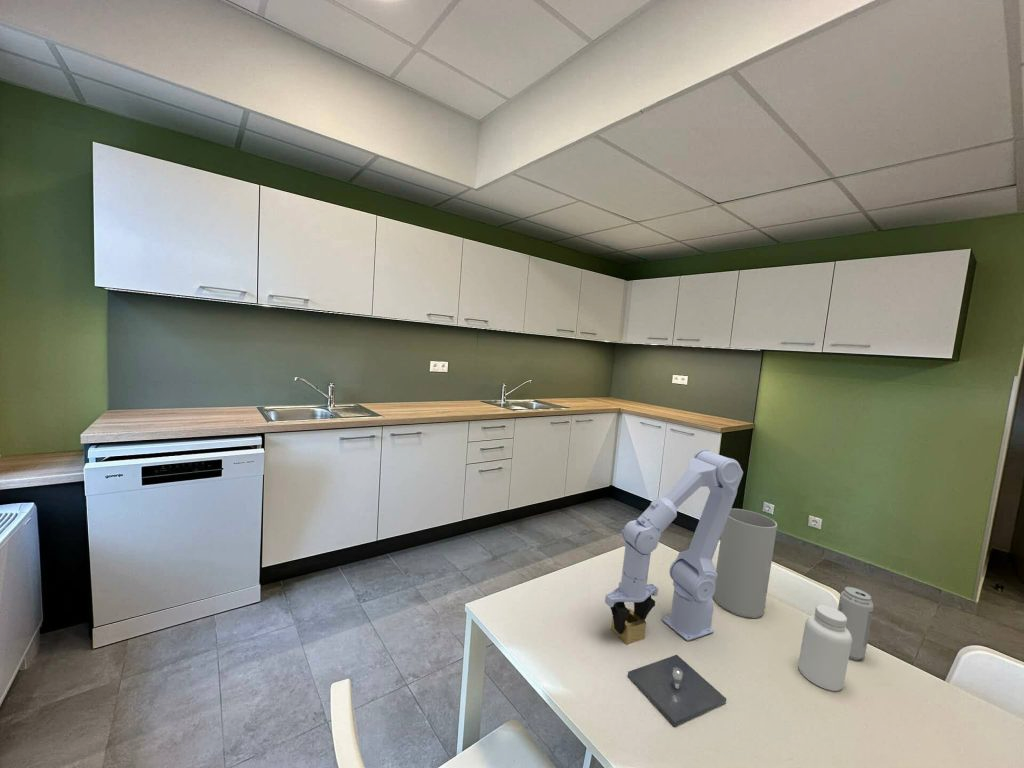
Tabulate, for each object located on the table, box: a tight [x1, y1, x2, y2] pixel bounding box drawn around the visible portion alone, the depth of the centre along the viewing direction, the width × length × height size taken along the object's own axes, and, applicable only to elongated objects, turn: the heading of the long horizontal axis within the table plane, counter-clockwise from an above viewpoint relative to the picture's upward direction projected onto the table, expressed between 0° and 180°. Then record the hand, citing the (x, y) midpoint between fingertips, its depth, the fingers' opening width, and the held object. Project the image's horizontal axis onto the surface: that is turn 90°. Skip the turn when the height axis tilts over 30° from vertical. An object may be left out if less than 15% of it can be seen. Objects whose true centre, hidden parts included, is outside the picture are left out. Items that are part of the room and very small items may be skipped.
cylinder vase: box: [712, 508, 778, 619], centre depth 111 cm, size 12×12×25 cm
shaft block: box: [627, 654, 727, 728], centre depth 80 cm, size 14×12×4 cm
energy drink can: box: [837, 586, 874, 661], centre depth 96 cm, size 6×6×15 cm
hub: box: [610, 608, 647, 645], centre depth 95 cm, size 5×5×4 cm
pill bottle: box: [797, 604, 852, 692], centre depth 87 cm, size 8×8×15 cm
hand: (628, 628), depth 95 cm, fingers closed on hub, 5 cm apart
